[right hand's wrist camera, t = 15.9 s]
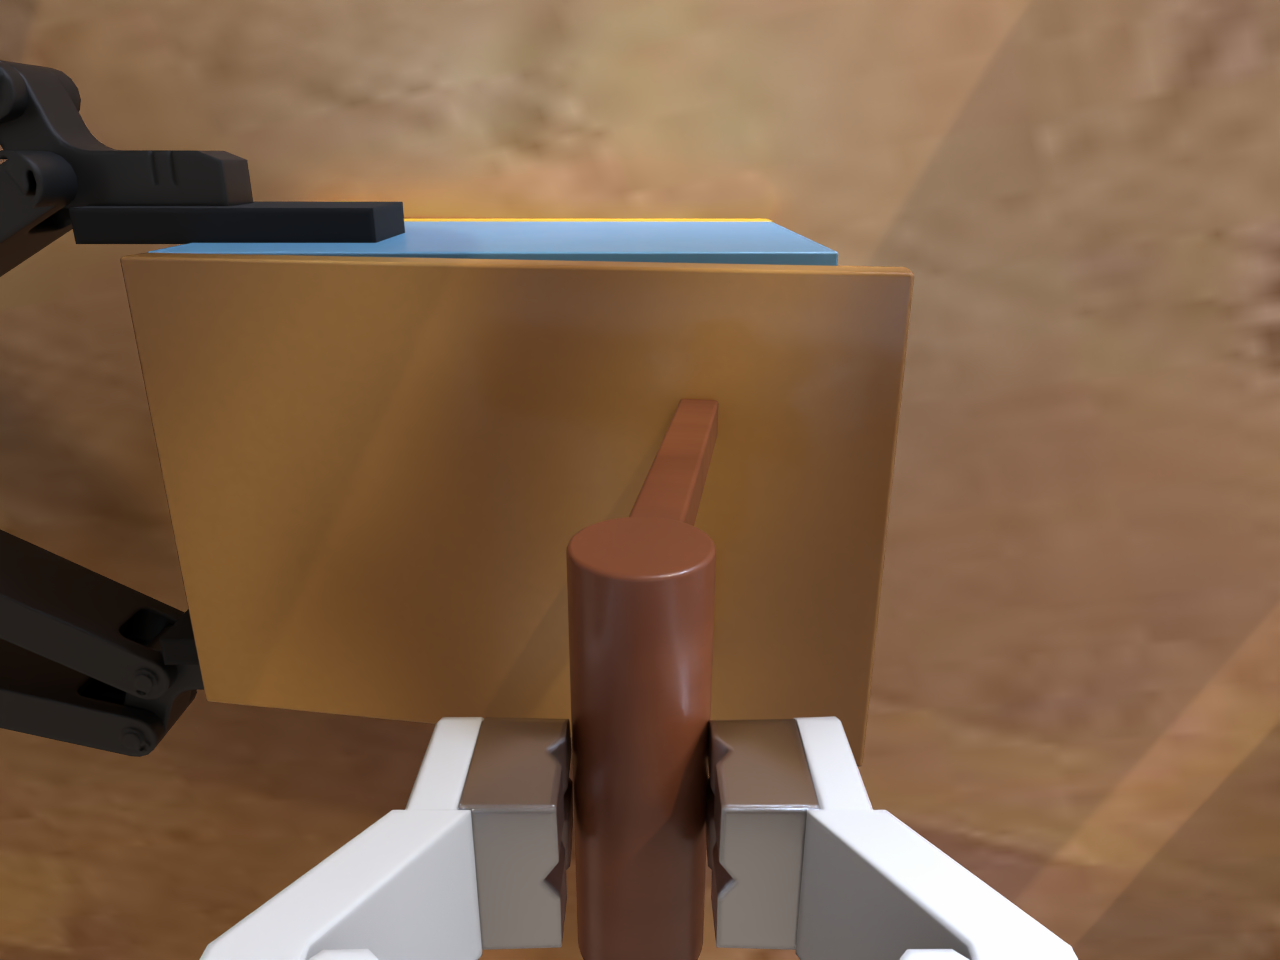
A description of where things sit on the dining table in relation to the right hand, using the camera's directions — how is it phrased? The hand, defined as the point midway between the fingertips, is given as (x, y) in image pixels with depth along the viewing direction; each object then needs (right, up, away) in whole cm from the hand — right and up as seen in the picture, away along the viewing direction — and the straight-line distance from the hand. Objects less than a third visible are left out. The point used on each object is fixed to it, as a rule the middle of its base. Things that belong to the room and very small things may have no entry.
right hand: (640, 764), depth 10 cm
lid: (-3, +3, +8) cm, 9 cm away
